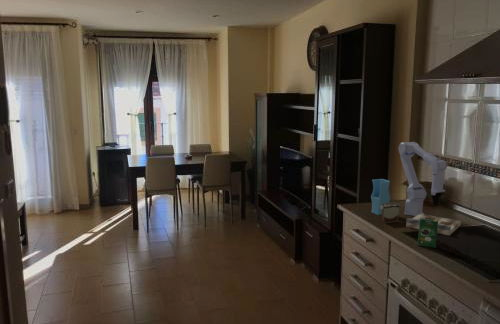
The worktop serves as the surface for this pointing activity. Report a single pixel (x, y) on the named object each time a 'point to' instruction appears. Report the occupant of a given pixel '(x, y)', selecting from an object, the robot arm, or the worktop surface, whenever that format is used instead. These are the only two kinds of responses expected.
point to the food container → (390, 212)
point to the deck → (444, 224)
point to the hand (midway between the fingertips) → (435, 205)
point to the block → (430, 217)
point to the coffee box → (427, 232)
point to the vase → (379, 195)
